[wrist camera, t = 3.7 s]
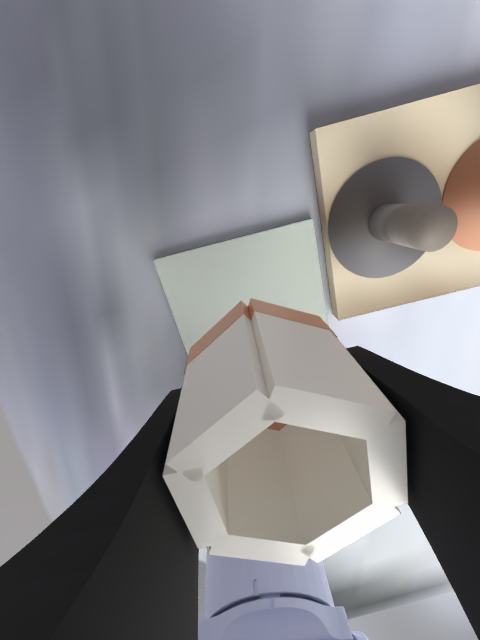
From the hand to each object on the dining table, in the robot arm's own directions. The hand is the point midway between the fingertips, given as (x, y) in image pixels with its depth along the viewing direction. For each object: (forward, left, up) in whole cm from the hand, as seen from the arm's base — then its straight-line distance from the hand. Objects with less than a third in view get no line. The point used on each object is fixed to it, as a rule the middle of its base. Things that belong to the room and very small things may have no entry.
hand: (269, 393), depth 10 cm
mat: (0, 0, -9) cm, 9 cm away
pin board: (+3, -11, -9) cm, 14 cm away
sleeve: (0, 0, -1) cm, 1 cm away
